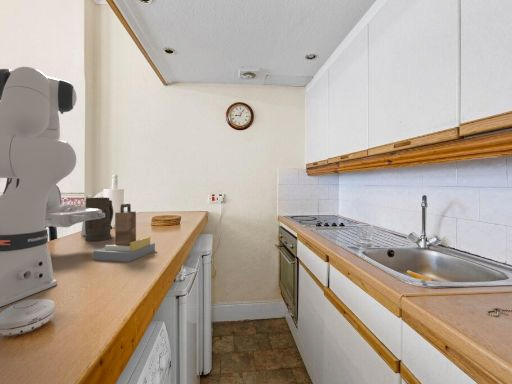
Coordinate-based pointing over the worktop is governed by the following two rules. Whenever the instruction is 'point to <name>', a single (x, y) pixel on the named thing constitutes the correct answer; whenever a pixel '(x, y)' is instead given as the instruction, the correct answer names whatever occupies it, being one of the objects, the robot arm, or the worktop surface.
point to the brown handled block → (125, 226)
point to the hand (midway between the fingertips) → (95, 216)
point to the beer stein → (99, 220)
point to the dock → (125, 251)
